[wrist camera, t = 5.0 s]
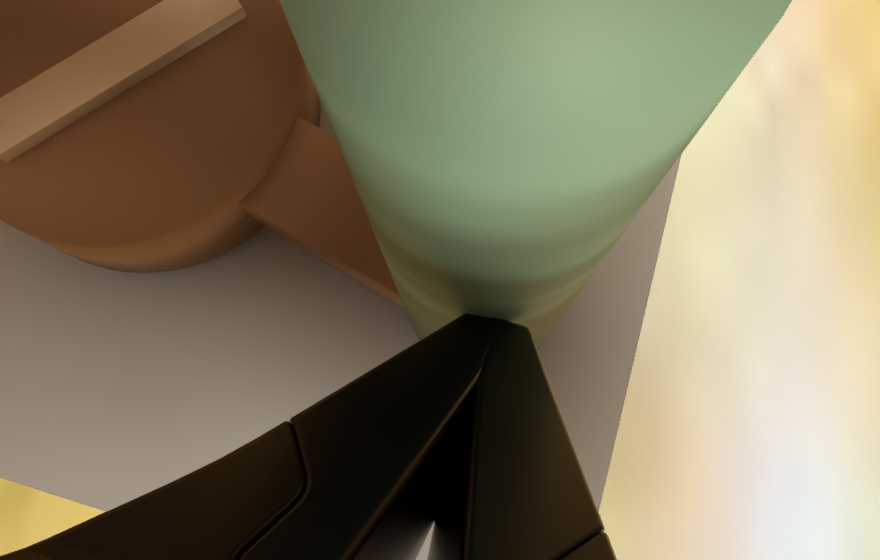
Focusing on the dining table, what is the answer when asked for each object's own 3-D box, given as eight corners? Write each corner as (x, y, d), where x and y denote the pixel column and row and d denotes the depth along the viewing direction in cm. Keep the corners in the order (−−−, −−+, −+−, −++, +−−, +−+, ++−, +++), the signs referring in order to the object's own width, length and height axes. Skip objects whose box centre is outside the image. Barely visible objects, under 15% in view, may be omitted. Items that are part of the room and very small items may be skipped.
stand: (557, 644, 14) (635, 804, 8) (-474, 315, 16) (-1079, 227, 10) (718, -43, 18) (867, -328, 11) (-156, -240, 20) (-454, -573, 13)
